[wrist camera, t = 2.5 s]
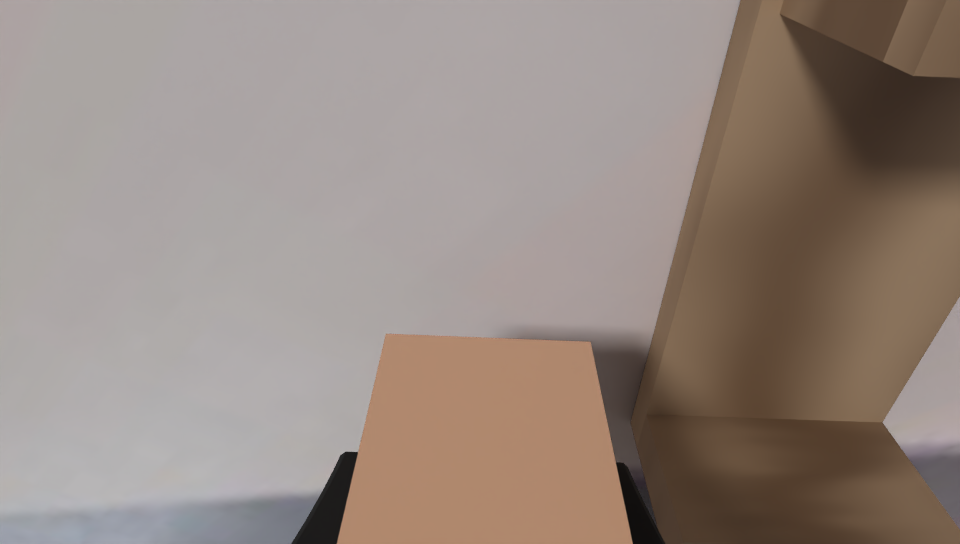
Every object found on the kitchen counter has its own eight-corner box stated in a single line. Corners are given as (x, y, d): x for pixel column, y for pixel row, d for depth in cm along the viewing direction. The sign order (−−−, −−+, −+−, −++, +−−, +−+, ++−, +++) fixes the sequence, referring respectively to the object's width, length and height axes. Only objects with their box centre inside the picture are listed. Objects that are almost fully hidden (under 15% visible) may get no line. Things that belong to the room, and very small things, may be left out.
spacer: (590, 341, 11) (646, 607, 7) (561, 497, 14) (589, 752, 10) (385, 333, 11) (325, 594, 7) (397, 491, 14) (358, 743, 10)
